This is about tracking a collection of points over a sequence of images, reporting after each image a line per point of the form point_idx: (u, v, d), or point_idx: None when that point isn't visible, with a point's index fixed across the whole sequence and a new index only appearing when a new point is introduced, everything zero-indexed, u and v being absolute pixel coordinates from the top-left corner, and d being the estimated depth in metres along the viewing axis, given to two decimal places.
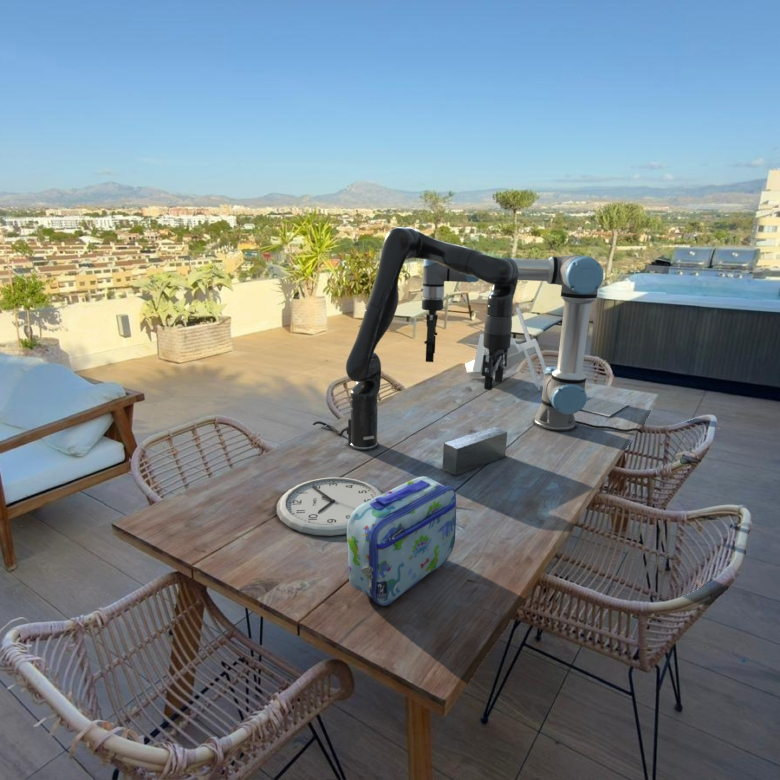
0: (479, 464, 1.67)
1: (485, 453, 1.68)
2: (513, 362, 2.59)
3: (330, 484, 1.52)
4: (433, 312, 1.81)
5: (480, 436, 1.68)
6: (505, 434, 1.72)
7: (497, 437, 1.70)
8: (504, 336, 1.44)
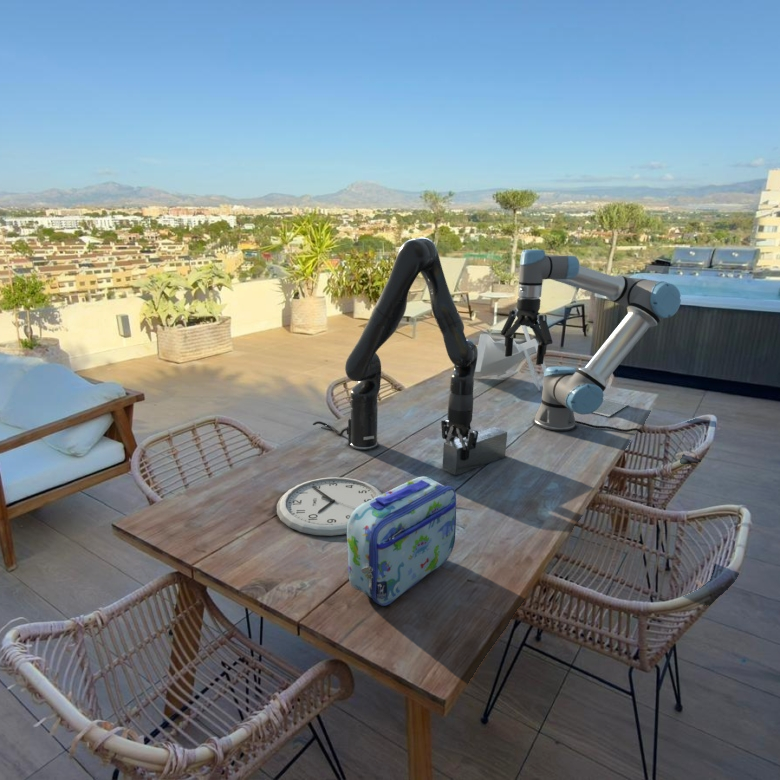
0: (479, 464, 1.67)
1: (485, 453, 1.68)
2: (513, 362, 2.59)
3: (330, 484, 1.52)
4: (537, 312, 1.72)
5: (480, 436, 1.68)
6: (505, 434, 1.72)
7: (497, 437, 1.70)
8: None
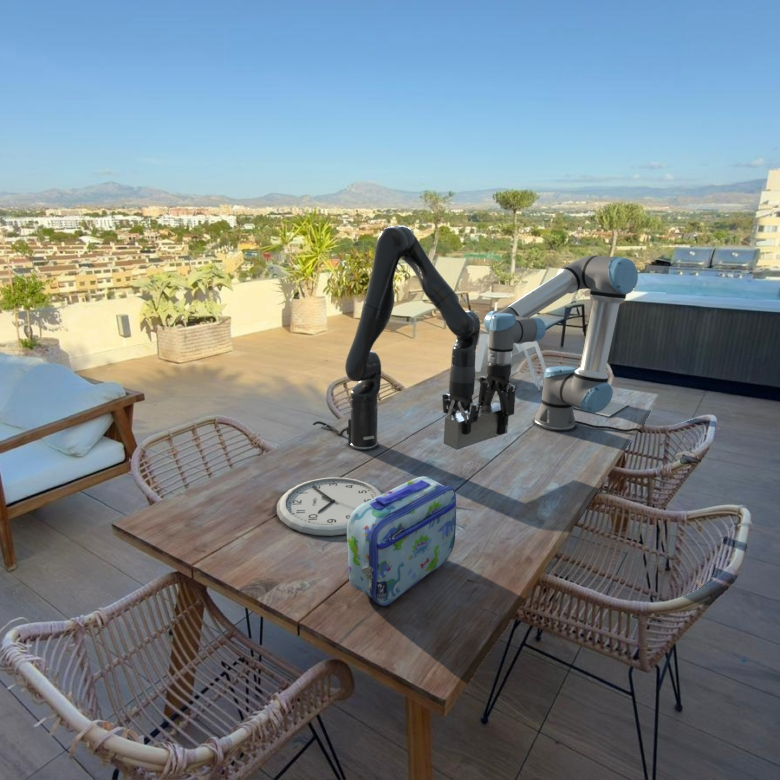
0: (481, 439, 1.65)
1: (487, 428, 1.65)
2: (513, 362, 2.59)
3: (330, 484, 1.52)
4: (508, 378, 1.65)
5: (481, 411, 1.65)
6: None
7: (499, 412, 1.67)
8: None
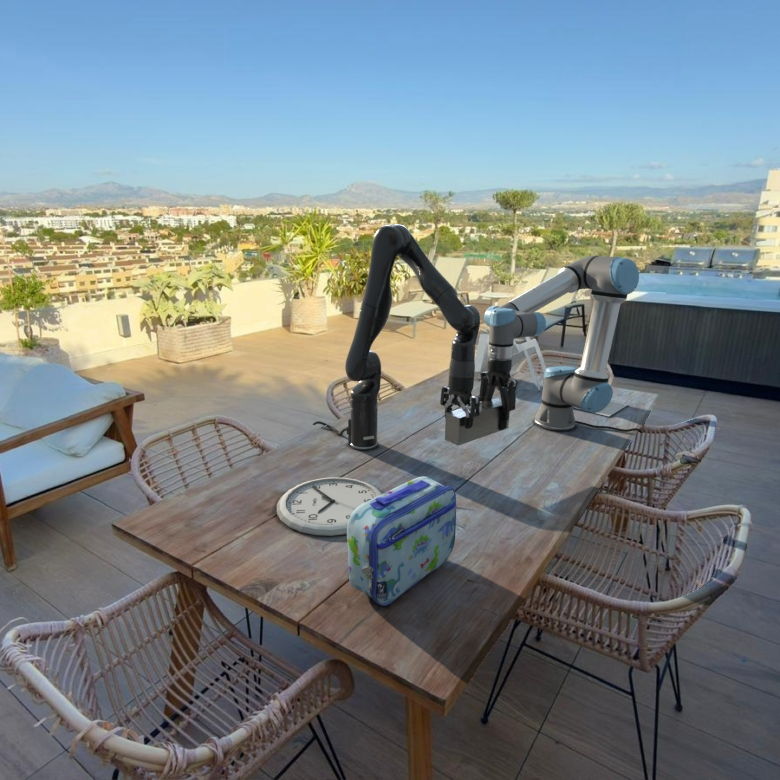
0: (482, 435, 1.65)
1: (488, 424, 1.65)
2: (513, 362, 2.59)
3: (330, 484, 1.52)
4: (509, 373, 1.64)
5: (482, 407, 1.65)
6: None
7: (500, 407, 1.67)
8: None
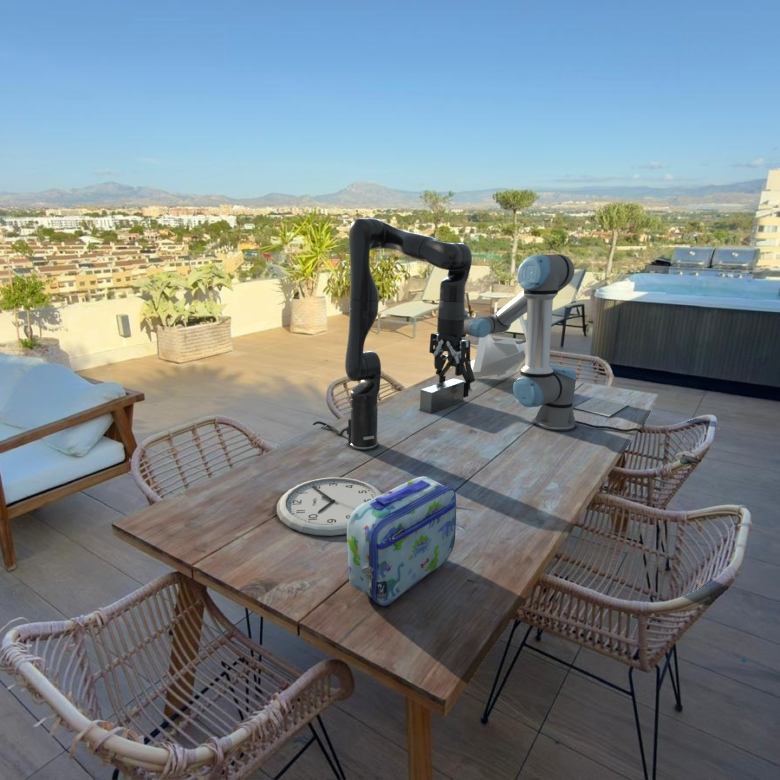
0: (446, 405, 2.22)
1: (450, 397, 2.23)
2: (513, 362, 2.59)
3: (330, 484, 1.52)
4: None
5: (445, 384, 2.23)
6: (463, 383, 2.28)
7: (458, 385, 2.26)
8: None
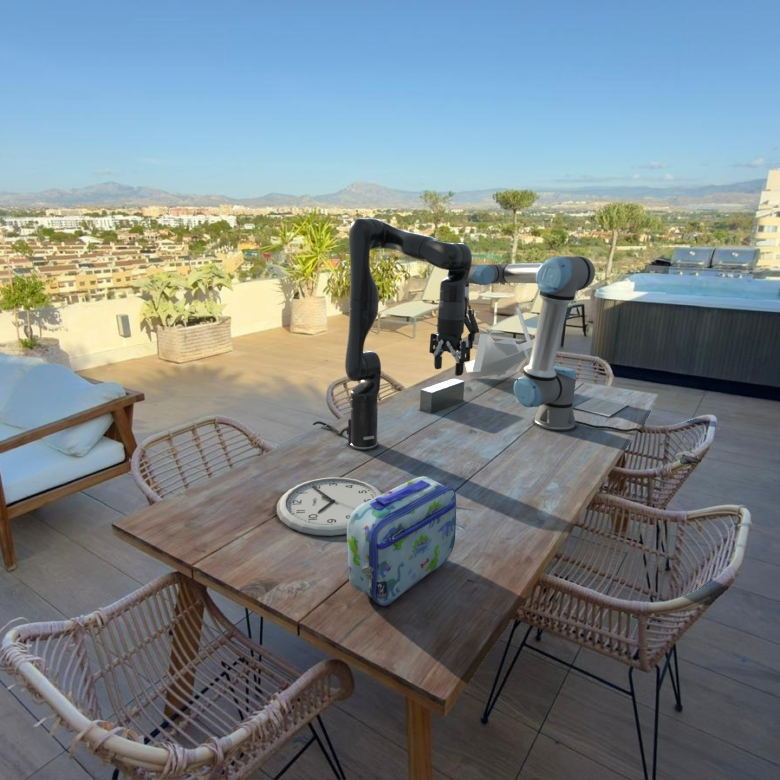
0: (446, 405, 2.22)
1: (450, 397, 2.23)
2: (513, 362, 2.59)
3: (330, 484, 1.52)
4: (466, 307, 2.17)
5: (445, 384, 2.23)
6: (463, 383, 2.28)
7: (458, 385, 2.26)
8: None
